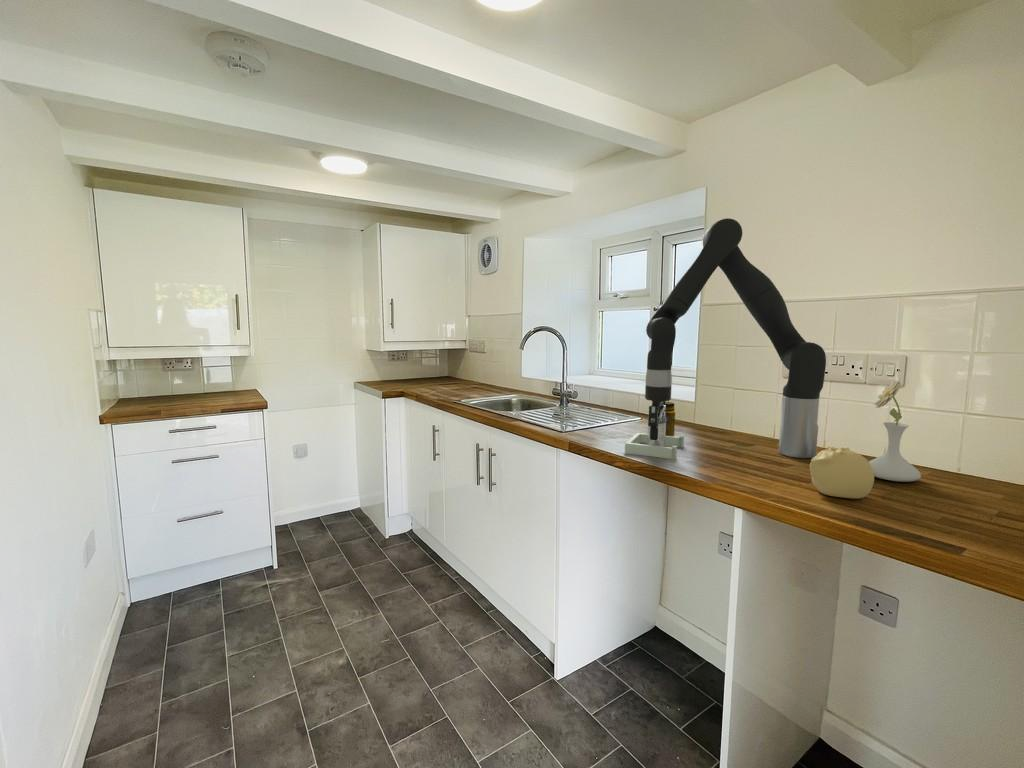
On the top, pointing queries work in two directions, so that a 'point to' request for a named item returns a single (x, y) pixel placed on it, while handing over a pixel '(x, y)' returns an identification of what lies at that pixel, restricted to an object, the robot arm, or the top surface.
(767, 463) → the top surface
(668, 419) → the condiment
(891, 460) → the flower in vase
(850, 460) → the cream rounded lump
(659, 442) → the shaker
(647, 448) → the tray
